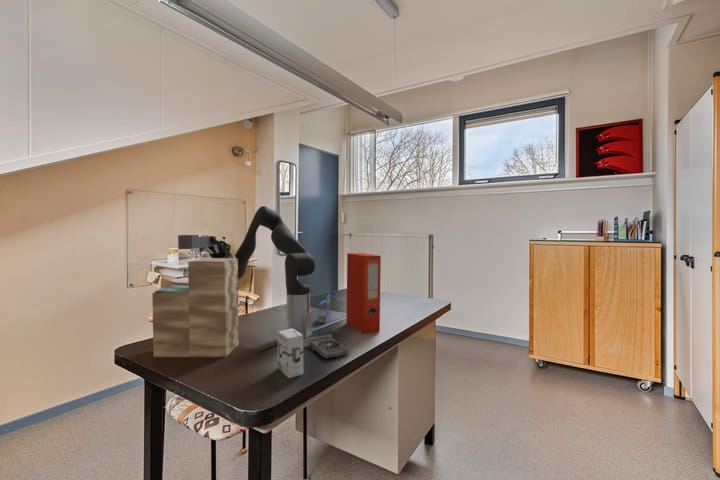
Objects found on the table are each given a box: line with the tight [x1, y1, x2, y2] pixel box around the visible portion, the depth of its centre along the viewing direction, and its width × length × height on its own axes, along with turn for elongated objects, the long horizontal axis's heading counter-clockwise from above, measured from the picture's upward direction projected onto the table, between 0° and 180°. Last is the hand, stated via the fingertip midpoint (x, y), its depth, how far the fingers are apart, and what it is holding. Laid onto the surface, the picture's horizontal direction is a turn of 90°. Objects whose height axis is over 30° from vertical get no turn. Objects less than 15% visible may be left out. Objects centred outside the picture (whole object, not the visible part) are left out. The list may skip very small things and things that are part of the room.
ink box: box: [277, 328, 304, 379], centre depth 99 cm, size 9×5×12 cm, turn 36°
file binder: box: [346, 252, 382, 335], centre depth 143 cm, size 8×17×32 cm, turn 25°
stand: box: [151, 257, 240, 358], centre depth 115 cm, size 12×24×32 cm, turn 90°
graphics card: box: [303, 334, 350, 359], centre depth 115 cm, size 17×4×12 cm
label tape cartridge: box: [317, 292, 332, 324], centre depth 154 cm, size 9×4×12 cm, turn 172°
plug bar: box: [177, 234, 217, 250], centre depth 129 cm, size 22×5×5 cm, turn 0°
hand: (206, 238), depth 135 cm, fingers closed on plug bar, 3 cm apart
